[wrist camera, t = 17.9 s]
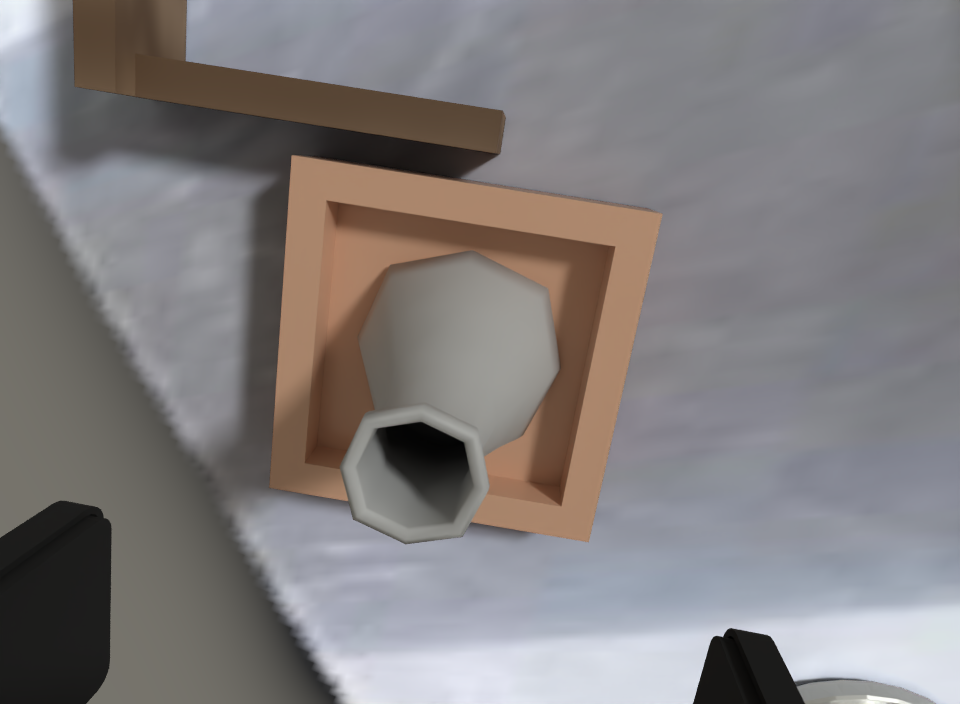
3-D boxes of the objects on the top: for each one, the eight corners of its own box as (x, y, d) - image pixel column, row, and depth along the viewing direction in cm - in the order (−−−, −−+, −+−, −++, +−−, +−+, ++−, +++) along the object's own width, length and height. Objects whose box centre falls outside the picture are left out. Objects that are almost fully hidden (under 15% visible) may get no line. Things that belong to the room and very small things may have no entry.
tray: (582, 507, 26) (588, 542, 24) (292, 458, 26) (269, 487, 24) (648, 208, 23) (662, 214, 20) (316, 156, 23) (291, 154, 21)
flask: (579, 264, 22) (618, 341, 13) (543, 458, 24) (554, 648, 15) (368, 233, 23) (251, 285, 13) (350, 428, 25) (238, 597, 15)
